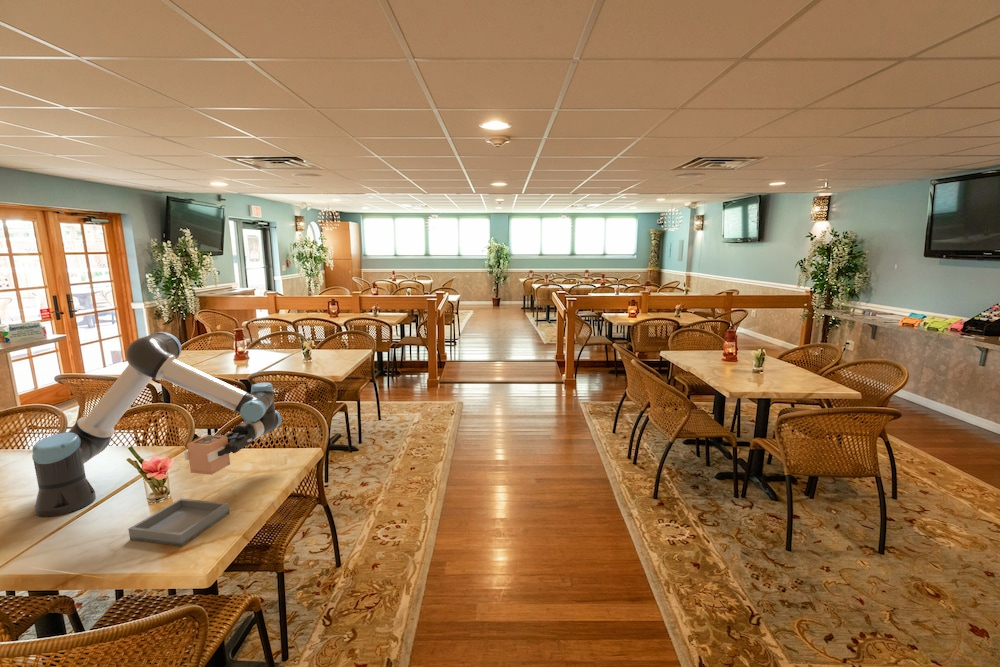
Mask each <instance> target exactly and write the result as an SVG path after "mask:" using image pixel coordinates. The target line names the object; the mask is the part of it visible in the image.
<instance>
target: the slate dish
mask: <svg viewBox="0 0 1000 667" xmlns="http://www.w3.org/2000/svg"><path fill="white" fill-rule="evenodd" d="M229 514H230V506H229V503H228V502H222V501H221V502H220V501H209V500H201V499H192V498H183V497H181V498H179V499H177V500H176V501H174V502H172V503H170V504H169V505H166V506H165V507H164V508H162V509H159V510H158V511H156V512H155V513H153V514H151V515H150V516H148V517H146V518H145V519H143V520H141V521H139V522H137V523H136V524H134V525H132V526H130V527H129V528H128V535H129V540H130V541H137V542H145V543H152V544H161V545H168V546H175V547H176V546H177V547H183V546H185V545H186V544H187V543H189V542H191V541H192V540H194V539H195V538H196V537H198V536H199V535H200V534H202V533H204V532H205V531H206V530H208V529H209V528H211V527H212V526H214V525H215V524H216V523H218V522H219V521H221V520H222V519H223V518H225V517H226V516H228V515H229Z"/></svg>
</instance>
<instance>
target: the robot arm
mask: <svg viewBox="0 0 1000 667" xmlns="http://www.w3.org/2000/svg"><path fill="white" fill-rule="evenodd" d="M181 344H182V343H181V342H180V341H179V339H178V338H177V337H176V336H175V335H173V334H172V333H169V332H165V331H162V332H161V331H159V332H152V333H150V335H145V336H143V337H140V338H137V339H135V340H134V341H132V342H130V344H129V345H128V347H127V349H126V351H125V355H126V356H125V358H126V361H127V363H128V365H127V367H126V368H125V369H123V371H122V373H120V374H119V376H118V378H117V379H116V380H115V381H114V383H113V384H112V385H111V386H110V388H108V390H107V391H106V392H105V394H104V395H103V396H102V398H100V400H99V401H98V402H97V403H96V405H95V406H94V407H93V409H92V410H91V411H90V412H89V413H88V414H87V416H82V417H80V418H78V419H77V421H76V422H75V423H74V425H73V426H72V427H71V428H70V430H69V431H67V432H62V433H61V432H60V433H56V434H53V435H50V436H47V437H44V438H42V439H40V440H38V441H37V442H35V444H34V445H33V446H32V448H31V452H32V455H31V456H32V461H33V463H34V464H33V466H34V469H35V475H36V480H37V487H38V492H37V495H36V500H35V505H34V512H35V513H36V514H35V516H37V515H38V516H37V517H41V516H50V517H55V516H56V515H57V516H62V515H65V513H66V514H68V513H72V511H73V512H75V511H78V510H80V508H81V509H83V508H85V507H87V506H88V504H89V505H91V504H92V503H93V502H94V501H95V500H96V499H97V498H96V496H97V494H96V491H95V489H94V488H93V486H92V485H91V483H90V482H89V480H88V479H87V476H86V470H85V463H87V462H88V461H89V460H91V459H93V458H94V457H96V456H97V455H99V454H100V453H102V452H103V451H104V450H105V449H106V448H107V447H108V446H109V444H110V443H111V439H112V437H113V436H114V434H115V432H116V431H115V428H114V427H115V426H116V424H118V423H119V421H120V420H121V418H122V417H123V416H124V414H125V413H126V412H127V411H128V409H129V408H130V407H131V405H132V404H134V402H135V401H136V400H137V398H138V397H139V396H140V394H141V393H142V392H143V391H144V389H145V388H146V387H147V386H148V384H149V383H150V382H151V381H152V379H154V380H156V381H159V380H164V381H166V382H169V383H171V384H172V385H175V386H178V387H180V388H182V389H184V390H186V391H188V392H191V393H193V394H195V395H197V396H199V397H202V398H204V399H206V400H209V401H211V402H213V403H216V404H217V405H220V406H223V407H224V408H227V409H230V410H231V411H234V412H236V413H237V414H238V413H239V415H240V417H241V419H243V420H244V422H241V423H239V424H237V425H235V426H234V427H233V428H232V430H231V432H228V433H225V434H222V433H217V434H216V435H215V434H214V435H215V436H227V439H228V444H225V445H226V448H225V446H222V447H220V448H218V449H216V450H214V451H212V452H210V453H208V454H207V456H208V462H212V461H213V460H215V459H217V458H219V457H221V456H223V455H225V454H229V455H230V454H231V453H232V454H236V453H238V452H240V451H241V450H242V449H244V448H245V447H246V446H248V445H250V444H252V443H253V441H255V440H257V439H258V438H260V437H262V436H264V435H266V434H268V433H271V432H273V431H275V429H277V428H278V427H279V426H281V424H282V421H283V417H282V415H281V414H280V412H279V411H278V410H276V406H275V397H274V396H275V395H274V392H275V391H274V388H273V383H271V382H257V383H254V384H252V385H251V387H250V392H247V391H245V390H243V389H241V388H239V387H236V386H235V385H232V384H230V383H228V382H225V381H223V380H221V379H220V378H217V377H215V376H213V375H211V374H209V373H206V372H205V371H202V370H200V369H197V368H195V367H194V366H191V365H190V364H186V363H185V362H182V361H180V360H179V359H178V358H179V357H180V355H181V353H182V345H181ZM183 453H184V461H189V454H188V450H186V451H184V452H183ZM84 506H85V507H84ZM82 507H83V508H82ZM61 514H62V515H61Z"/></svg>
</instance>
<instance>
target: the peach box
mask: <svg viewBox="0 0 1000 667" xmlns="http://www.w3.org/2000/svg"><path fill="white" fill-rule="evenodd" d="M186 444H187V445H186V446H187V451H188V454H189V460H188V461H189V462H188V463H189V469H190V473H191V474H200V475H210V476H212V475H214V474H216V473H217V472H219V471H222V469H224V468H226V467H228V466H230V465H231V459H230V453H229V454H225V455H223V456H221V457H219V458H217V459H215V460H213V461H212V462H208V456H207V454H208V453H210V452H212V451H214V450H216V449H218V448H220V447H222V446H225V448H226V445H225V444H228V439H227V436H215V434H205V435H203V436H202V437H199V438H197V439H195V440H192V441H191V442H188V443H186Z"/></svg>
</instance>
